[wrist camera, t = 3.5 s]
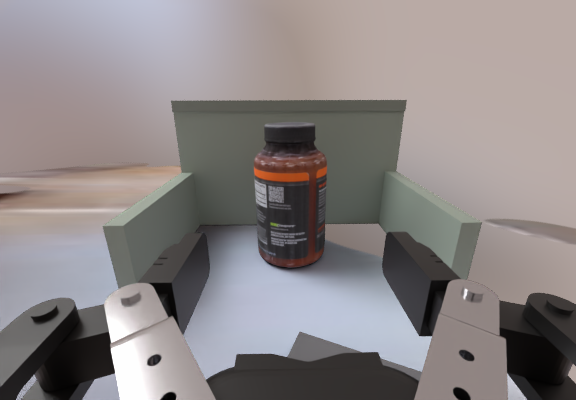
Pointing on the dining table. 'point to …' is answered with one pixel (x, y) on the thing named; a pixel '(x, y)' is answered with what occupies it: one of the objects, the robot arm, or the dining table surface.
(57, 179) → the dining table surface
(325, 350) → the slate tile
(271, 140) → the supplement bottle
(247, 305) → the dining table surface
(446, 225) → the sage green open tray
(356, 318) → the dining table surface
